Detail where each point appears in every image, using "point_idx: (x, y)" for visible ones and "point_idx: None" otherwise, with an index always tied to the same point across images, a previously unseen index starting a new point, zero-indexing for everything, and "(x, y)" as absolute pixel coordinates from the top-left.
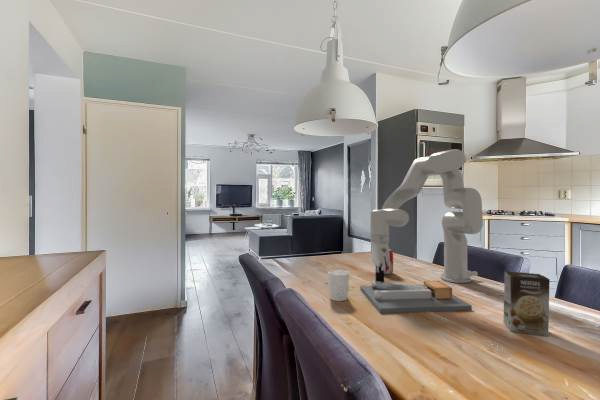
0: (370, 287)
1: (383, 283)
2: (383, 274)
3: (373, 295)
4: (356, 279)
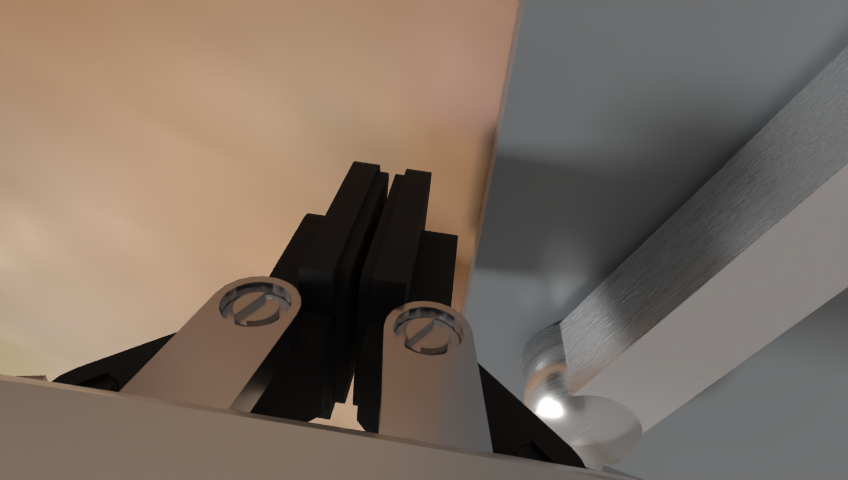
0: (518, 383)
1: (734, 361)
2: (408, 268)
3: (821, 472)
4: (8, 300)
